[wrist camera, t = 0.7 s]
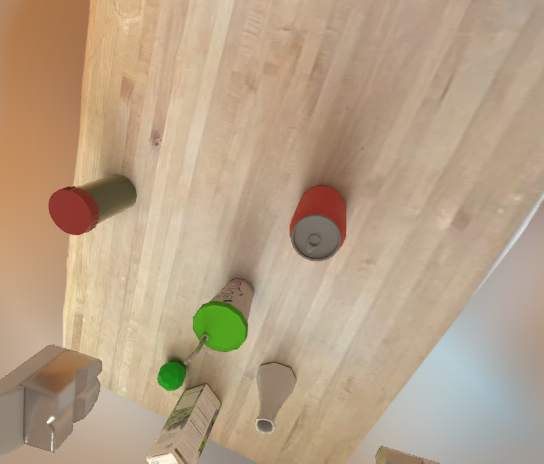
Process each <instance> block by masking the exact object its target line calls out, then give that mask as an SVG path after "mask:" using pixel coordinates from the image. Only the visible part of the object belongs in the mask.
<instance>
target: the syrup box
mask: <svg viewBox="0 0 544 464" xmlns="http://www.w3.org/2000/svg"><path fill="white" fill-rule="evenodd" d="M221 406H222V404H221V403H220V401H219V400H218V398H217V397H216V396H215V394H214V393H213V392H212V390H211V389H210V388H209V386H208V385H207V384H203V385H200V386H197V387H194V388H191V389H188V390H185V391H184V392H183V394H182V396H181V398H180V399H179V401H178V403H177V405H176V406H175V408H174V410H173V412H172V413H171V415H170V417H169V418H168V420H167V422H166V424H165V426H164V427H163V429H162V431H161V433H160V434H159V436H158V438H157V439H156V441H155V443H154V445H153V446H152V448H151V450H150V452H149V454H148V455H147V457H146V459H147V461H148V462H149V464H197V462H198V460H199V458H200V455H201V453H202V450H203V448H204V446H205V443H206V441H207V439H208V436H209V434H210V432H211V429H212V427H213V424H214V422H215V420H216V417H217V415H218V413H219V410H220V408H221Z"/></svg>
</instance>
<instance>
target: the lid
mask: <svg viewBox="0 0 544 464" xmlns="http://www.w3.org/2000/svg"><path fill="white" fill-rule="evenodd" d="M49 212H50V215H51V217H52V219H53V221H54V222H55V224H56V225H57V226H58V227H59V228H60V229H61V230H63V231H64V232H66V233H69V234H72V235H80V234H83V233H85V232H86V233H87V232H89V231H90V230H92V229H93V228H95V227H96V225H97V223H98V221H99V218H100V213H99V212H100V211H99V208H98V205H97V203H96V201H95V200H94V198H93V197H92V196H91V195H90V194H89V193H88V192H87V191H86V190H83V189H81V188H78V187H75V186H73V187H66V188H63V189H60V190H58V191H57V192H55V193H53V195H52V196H51V197H50V200H49Z"/></svg>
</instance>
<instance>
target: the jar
mask: <svg viewBox="0 0 544 464" xmlns="http://www.w3.org/2000/svg"><path fill="white" fill-rule="evenodd" d="M78 188H81V189H83V190H86V191H87V192H88V193H89V194H90V195H91V196H92V197H93V198H94V200H95V201H96V203H97V205H98V208H99V211H100V212H99V213H100V218H99V221H98V223H100V222H102V221H104V220H106V219H108V218H110V217H112V216H114V215H116V214H118V213H120V212H122V211H124V210H126V209H128V208H130V207H132V206H133V205H134V203H135V201H136V190H135V187H134V185H133V184H132V183H131V181H130V180H129V179H127V178H126V177H124V176H121V175H112V176H109V177H106V178H103V179H99V180H96V181H93V182H90V183H87V184H84V185H81V186H78ZM98 223H97V224H98Z"/></svg>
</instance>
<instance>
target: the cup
mask: <svg viewBox="0 0 544 464" xmlns="http://www.w3.org/2000/svg"><path fill="white" fill-rule="evenodd" d="M252 298H253V288H252V286H251V284H250V283H248V282H247V281H246V280H244V279H239V278H237V279H234V280H231V281H230V282H229V283H228V284H227V285H226V286H225V287H224V288H223V289H222V290H221V291H220V292H219V293H218V294H217V295H216V296H215V297H214V298H213V299H212V300H211V301H210V302H209V303H206V304H203V305H202V306H201V308H200V309H199V310H198V311H197V313H196V314H195V316H194V317H193V330H194V332H195V333H196V335H197V337H198V339H199V340H200V341H201V342H200V343H199V345H198V347H197V348H196V350H195V351H194V352H193V353H192V354H191V355H190V356H189V357H188V358H187V359H186V360H185V361H184V362H183V363H184V364H185V365H187V364H188V363H189V362H190V361H191V360H192V359H193V358H194V357H195V356H196V355H197V354H198V353H199V351H200V350H201V348H202V346H203V345H204V344H205V345H206V346H208V347H209V348H211V349H213V350H218V351H222V352H228V351H232V350H236V349H238V348H239V347H240V346H241V345H242V344H243V342H244V341H245V340H246V337H247V331H248V323H247V321H248V317H249V312H250V307H251V303H252Z"/></svg>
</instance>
